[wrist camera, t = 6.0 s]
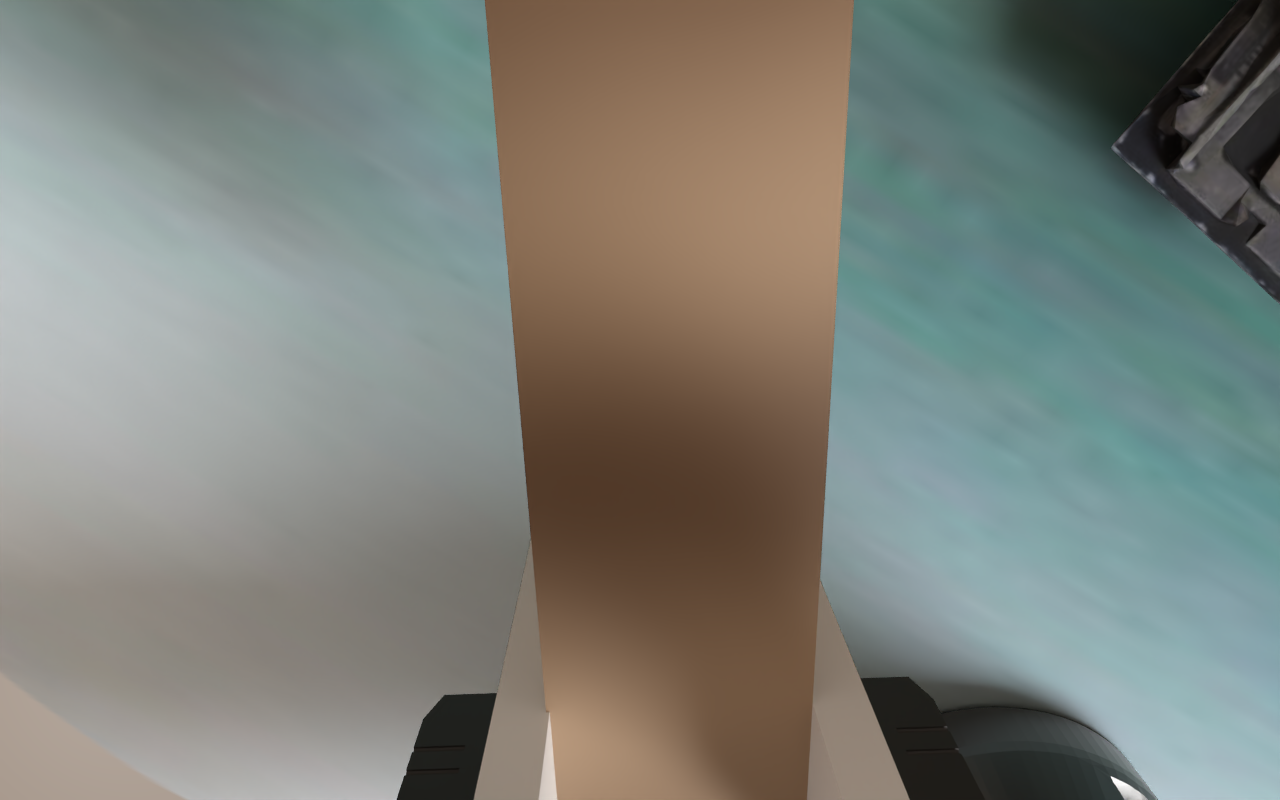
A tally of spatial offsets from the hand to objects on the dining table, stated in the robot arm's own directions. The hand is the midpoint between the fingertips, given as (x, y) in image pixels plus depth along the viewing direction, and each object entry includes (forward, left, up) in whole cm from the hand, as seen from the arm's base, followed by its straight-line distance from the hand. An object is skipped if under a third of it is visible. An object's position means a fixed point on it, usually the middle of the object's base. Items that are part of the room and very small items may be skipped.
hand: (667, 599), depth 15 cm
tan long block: (+4, 0, 0) cm, 4 cm away
